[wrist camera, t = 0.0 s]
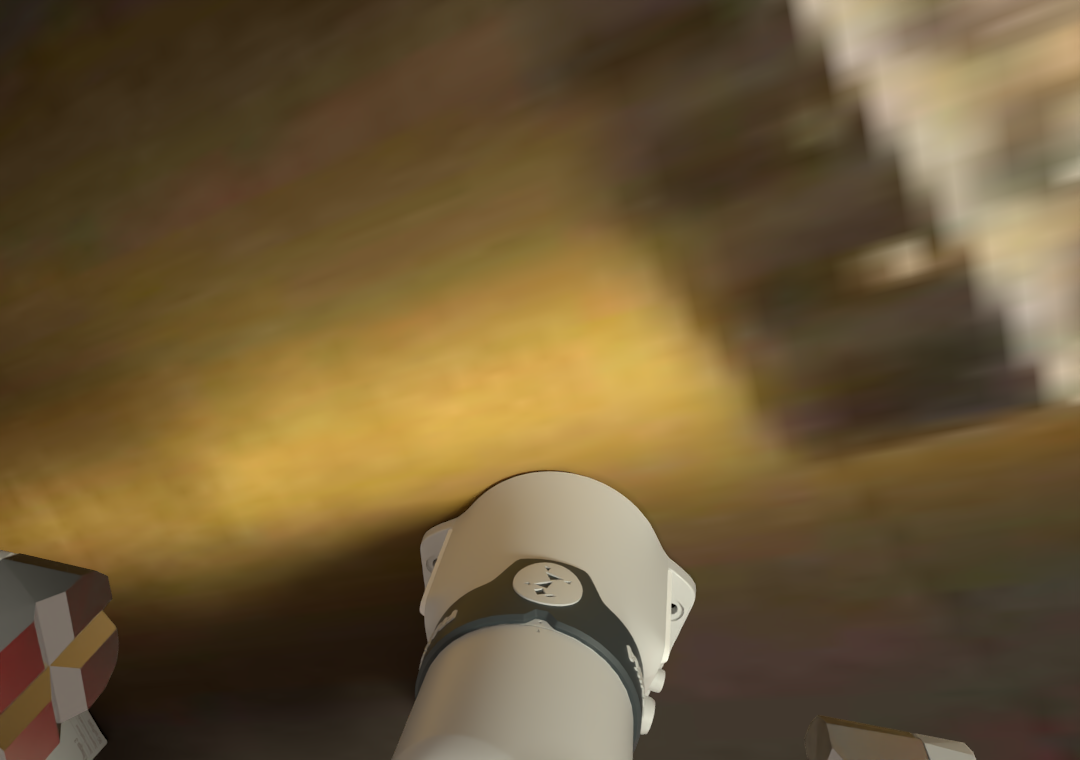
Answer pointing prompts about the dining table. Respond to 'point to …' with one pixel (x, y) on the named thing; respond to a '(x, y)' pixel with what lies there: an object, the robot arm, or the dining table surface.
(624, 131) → the dining table surface
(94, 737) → the supplement box
